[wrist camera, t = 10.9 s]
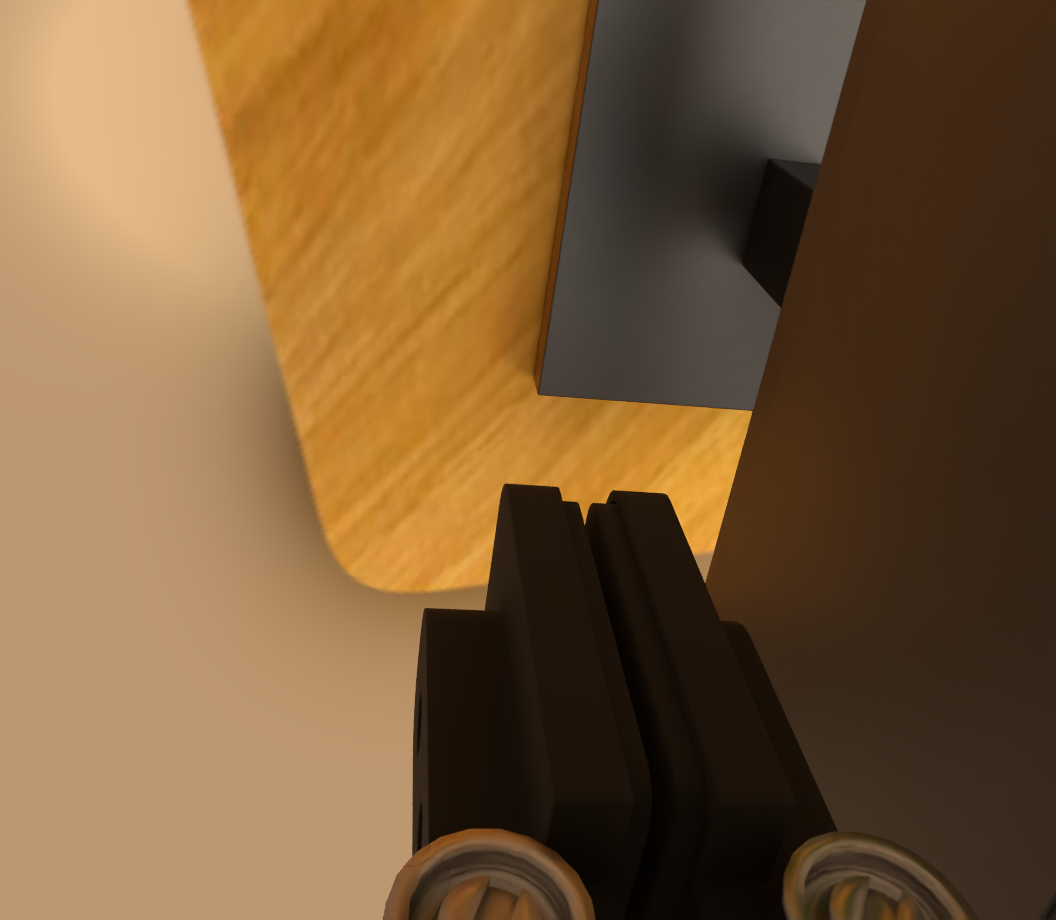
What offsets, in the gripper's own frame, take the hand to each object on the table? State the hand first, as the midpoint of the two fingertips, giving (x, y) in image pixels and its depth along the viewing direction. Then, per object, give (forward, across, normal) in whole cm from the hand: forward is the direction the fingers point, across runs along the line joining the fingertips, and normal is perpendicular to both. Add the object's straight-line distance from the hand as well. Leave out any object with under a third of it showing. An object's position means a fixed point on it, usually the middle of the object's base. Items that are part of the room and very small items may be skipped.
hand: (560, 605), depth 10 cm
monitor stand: (+19, -6, 0) cm, 20 cm away
